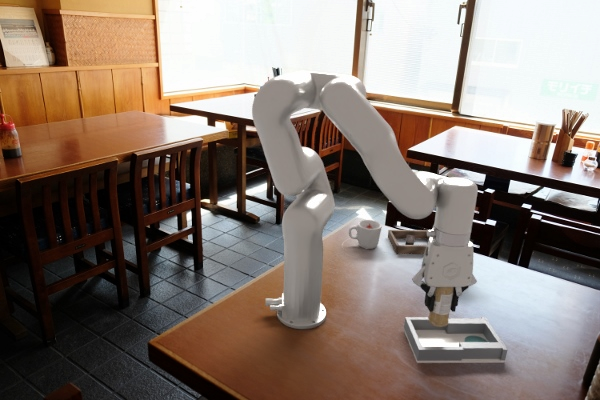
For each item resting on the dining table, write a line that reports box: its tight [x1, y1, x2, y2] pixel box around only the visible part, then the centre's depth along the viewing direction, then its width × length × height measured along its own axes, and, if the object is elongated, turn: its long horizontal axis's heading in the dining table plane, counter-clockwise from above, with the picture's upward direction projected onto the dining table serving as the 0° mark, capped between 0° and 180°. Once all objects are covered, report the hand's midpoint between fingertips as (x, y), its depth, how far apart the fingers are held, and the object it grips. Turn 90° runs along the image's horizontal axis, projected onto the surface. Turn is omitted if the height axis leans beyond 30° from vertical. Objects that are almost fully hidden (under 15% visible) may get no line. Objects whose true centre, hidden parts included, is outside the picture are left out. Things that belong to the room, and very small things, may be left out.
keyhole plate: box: [403, 316, 509, 364], centre depth 107 cm, size 20×12×4 cm, turn 92°
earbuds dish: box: [387, 229, 431, 255], centre depth 156 cm, size 15×13×3 cm
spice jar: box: [427, 287, 454, 327], centre depth 103 cm, size 5×5×13 cm
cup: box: [348, 219, 383, 250], centre depth 155 cm, size 11×8×8 cm
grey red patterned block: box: [404, 235, 416, 245], centre depth 155 cm, size 5×7×3 cm, turn 164°
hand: (440, 307), depth 104 cm, fingers closed on spice jar, 4 cm apart
